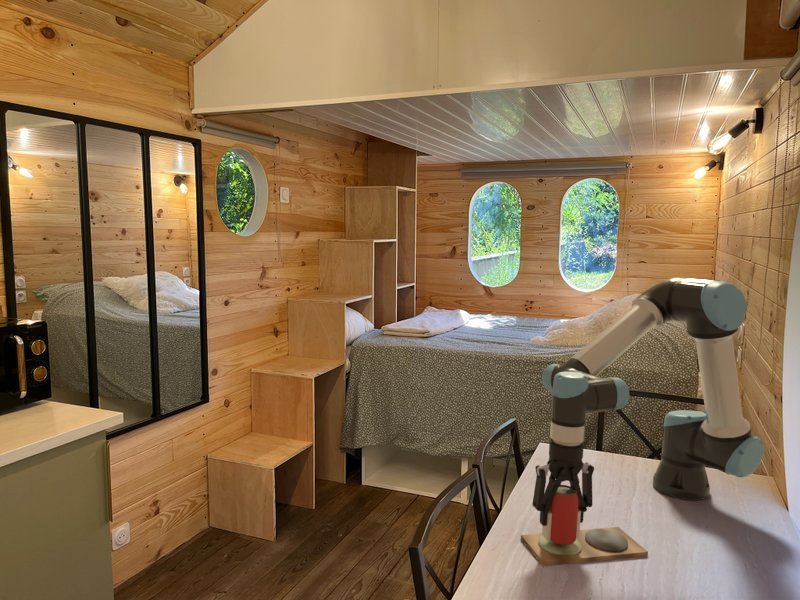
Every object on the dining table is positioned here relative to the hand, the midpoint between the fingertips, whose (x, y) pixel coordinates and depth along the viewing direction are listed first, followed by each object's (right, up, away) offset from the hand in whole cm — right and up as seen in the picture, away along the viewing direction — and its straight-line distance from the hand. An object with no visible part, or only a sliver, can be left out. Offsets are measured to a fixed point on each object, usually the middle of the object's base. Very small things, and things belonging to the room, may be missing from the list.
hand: (560, 536), depth 142 cm
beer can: (0, -1, 0) cm, 1 cm away
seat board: (+6, -3, +2) cm, 7 cm away
